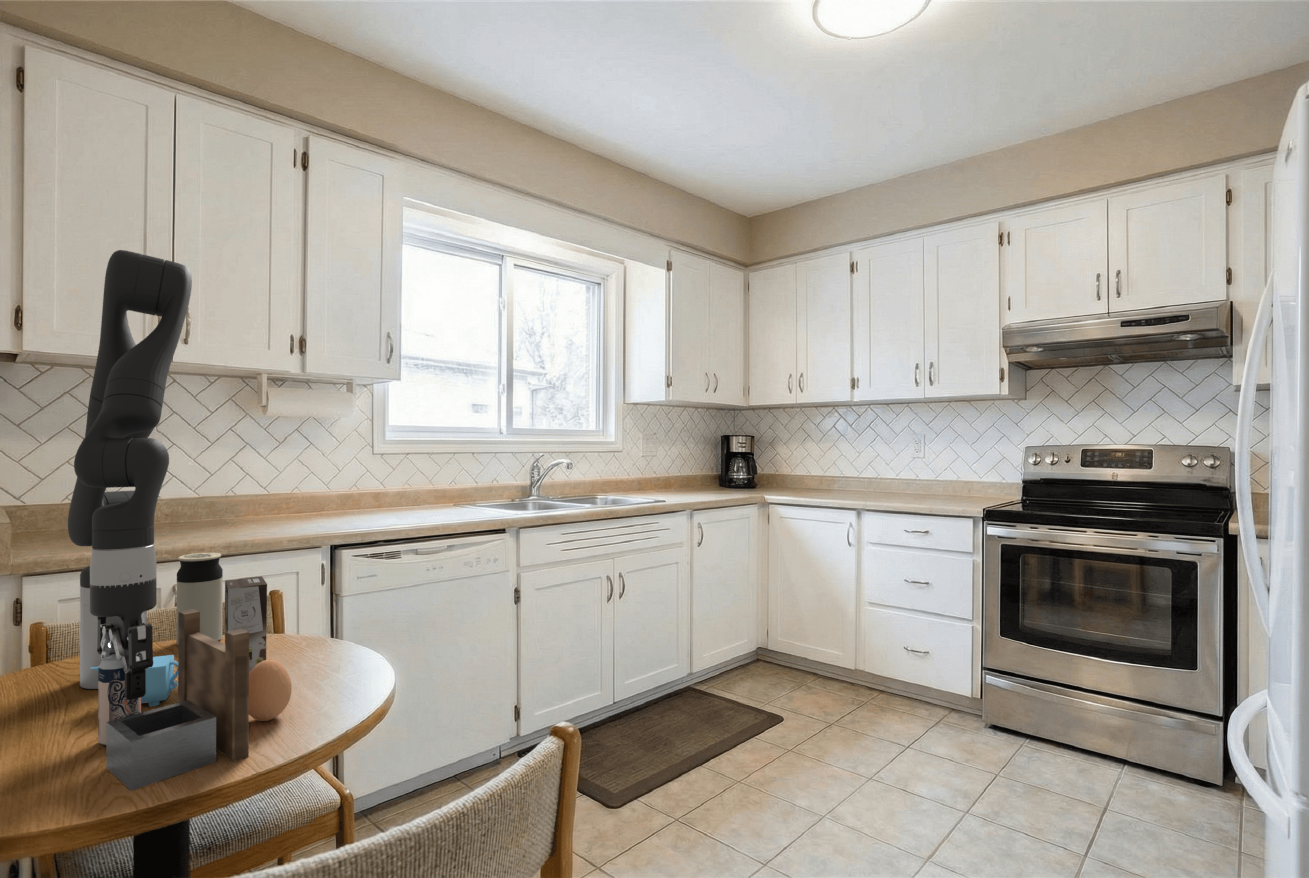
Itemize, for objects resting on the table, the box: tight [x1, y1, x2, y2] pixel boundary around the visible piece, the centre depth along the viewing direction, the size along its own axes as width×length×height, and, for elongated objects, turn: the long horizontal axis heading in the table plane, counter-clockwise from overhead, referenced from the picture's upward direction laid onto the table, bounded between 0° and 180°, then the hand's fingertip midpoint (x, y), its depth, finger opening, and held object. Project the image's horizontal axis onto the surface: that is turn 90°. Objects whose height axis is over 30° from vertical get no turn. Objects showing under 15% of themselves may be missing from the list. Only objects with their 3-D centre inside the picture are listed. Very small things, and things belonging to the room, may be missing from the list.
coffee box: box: [224, 576, 268, 673], centre depth 127 cm, size 9×6×16 cm
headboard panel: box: [177, 609, 250, 763], centre depth 98 cm, size 19×2×17 cm, turn 53°
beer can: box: [97, 654, 142, 746], centre depth 98 cm, size 5×5×12 cm
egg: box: [249, 659, 293, 722], centre depth 105 cm, size 7×7×9 cm
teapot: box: [90, 654, 178, 707], centre depth 111 cm, size 12×6×8 cm, turn 115°
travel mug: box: [176, 552, 224, 645], centre depth 143 cm, size 8×8×18 cm
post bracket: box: [105, 700, 217, 792], centre depth 91 cm, size 9×9×6 cm
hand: (124, 691), depth 98 cm, fingers open, 8 cm apart
